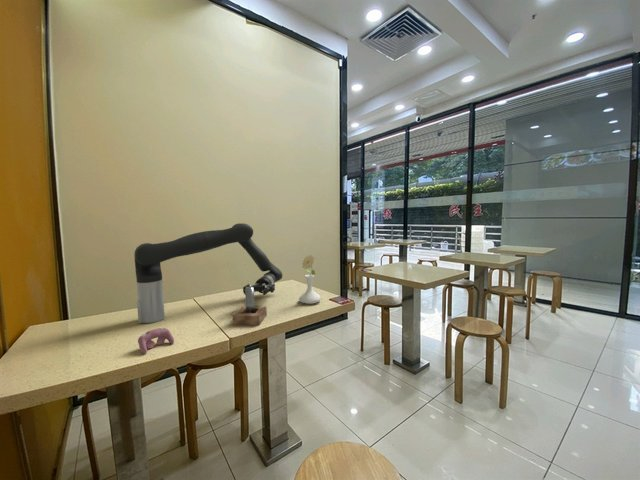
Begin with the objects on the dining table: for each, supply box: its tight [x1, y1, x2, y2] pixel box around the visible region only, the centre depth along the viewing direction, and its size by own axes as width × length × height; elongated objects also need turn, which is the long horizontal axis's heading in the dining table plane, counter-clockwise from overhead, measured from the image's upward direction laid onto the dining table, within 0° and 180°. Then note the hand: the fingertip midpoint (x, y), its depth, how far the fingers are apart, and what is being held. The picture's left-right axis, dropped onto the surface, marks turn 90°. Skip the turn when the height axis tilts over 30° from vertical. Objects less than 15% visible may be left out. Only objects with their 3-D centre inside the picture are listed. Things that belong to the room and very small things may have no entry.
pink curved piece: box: [137, 327, 175, 355], centre depth 89 cm, size 10×5×7 cm, turn 142°
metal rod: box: [244, 287, 255, 313], centre depth 111 cm, size 4×4×14 cm
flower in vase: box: [298, 254, 322, 305], centre depth 132 cm, size 13×11×25 cm
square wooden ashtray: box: [232, 305, 268, 326], centre depth 111 cm, size 11×11×4 cm
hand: (254, 292), depth 116 cm, fingers open, 8 cm apart
